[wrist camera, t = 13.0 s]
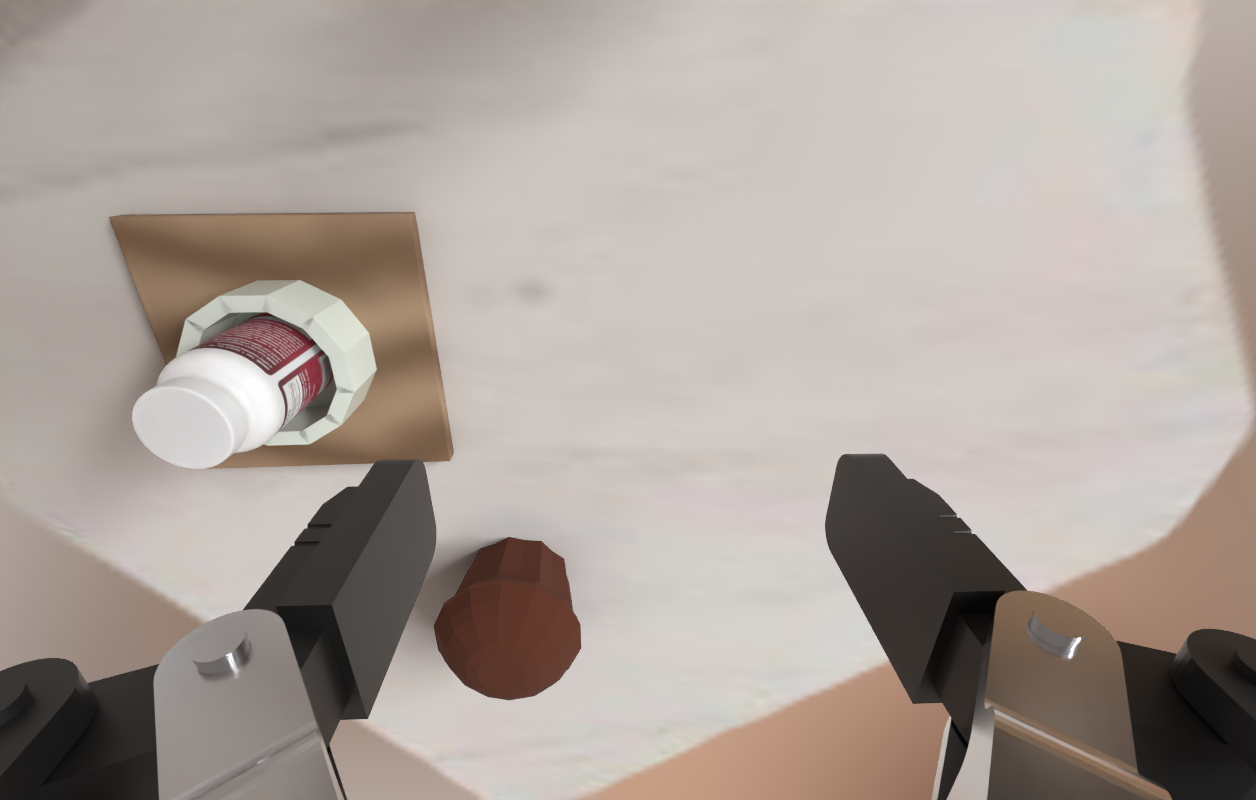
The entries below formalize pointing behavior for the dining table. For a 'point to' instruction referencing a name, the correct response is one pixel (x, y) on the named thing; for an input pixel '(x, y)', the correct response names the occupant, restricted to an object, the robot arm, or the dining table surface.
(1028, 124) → the dining table surface
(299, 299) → the pale green bowl
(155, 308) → the walnut board
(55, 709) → the robot arm
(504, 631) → the muffin
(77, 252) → the dining table surface
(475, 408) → the dining table surface
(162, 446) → the pill bottle
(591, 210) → the dining table surface
